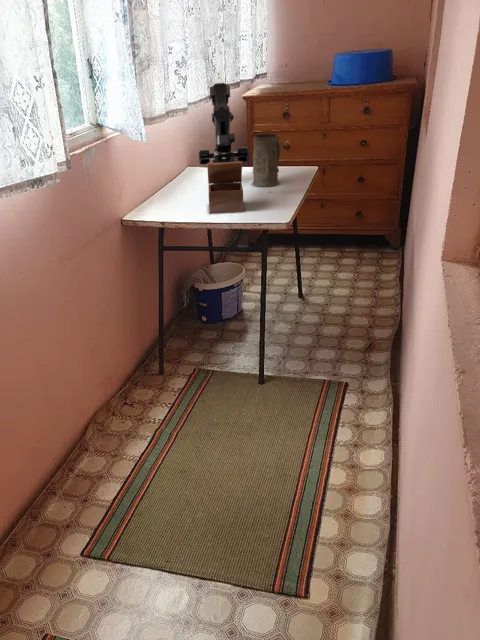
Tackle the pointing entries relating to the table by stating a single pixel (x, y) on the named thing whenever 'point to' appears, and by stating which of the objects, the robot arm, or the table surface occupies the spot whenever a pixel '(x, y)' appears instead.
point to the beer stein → (266, 160)
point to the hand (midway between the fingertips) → (224, 175)
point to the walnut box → (225, 198)
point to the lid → (224, 172)
